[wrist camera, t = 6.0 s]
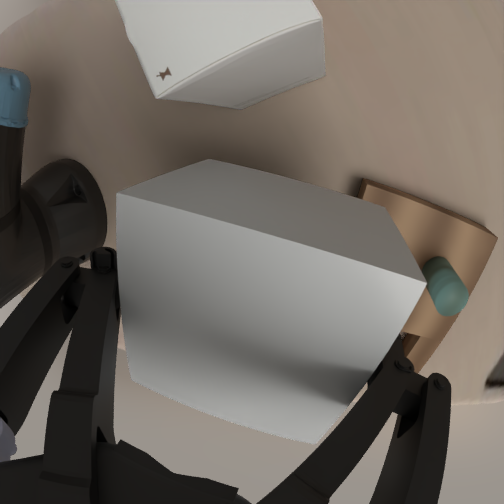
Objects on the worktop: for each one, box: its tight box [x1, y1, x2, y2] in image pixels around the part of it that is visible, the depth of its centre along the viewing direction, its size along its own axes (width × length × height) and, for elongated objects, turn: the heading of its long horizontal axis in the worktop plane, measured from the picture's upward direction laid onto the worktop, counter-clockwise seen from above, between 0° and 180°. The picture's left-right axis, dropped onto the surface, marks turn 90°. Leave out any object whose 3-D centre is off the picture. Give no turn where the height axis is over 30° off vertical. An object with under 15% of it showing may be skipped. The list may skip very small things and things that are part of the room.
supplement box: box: [115, 0, 326, 110], centre depth 16 cm, size 9×9×15 cm
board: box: [357, 178, 498, 374], centre depth 25 cm, size 15×20×8 cm
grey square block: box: [116, 159, 427, 444], centre depth 14 cm, size 10×10×8 cm
